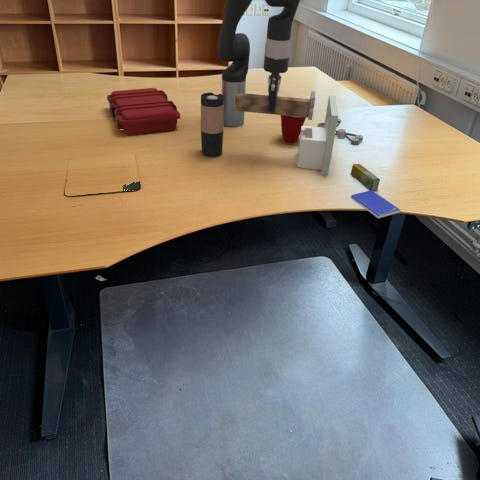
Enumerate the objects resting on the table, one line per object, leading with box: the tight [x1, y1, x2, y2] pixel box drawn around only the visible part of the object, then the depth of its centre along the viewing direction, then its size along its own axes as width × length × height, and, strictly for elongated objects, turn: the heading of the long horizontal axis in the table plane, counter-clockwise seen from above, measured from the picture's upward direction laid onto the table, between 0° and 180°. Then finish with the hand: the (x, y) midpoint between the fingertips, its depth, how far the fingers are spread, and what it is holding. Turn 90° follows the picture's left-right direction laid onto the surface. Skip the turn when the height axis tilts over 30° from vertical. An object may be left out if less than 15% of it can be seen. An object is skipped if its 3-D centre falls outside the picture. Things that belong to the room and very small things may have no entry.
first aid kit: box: [106, 87, 181, 135], centre depth 175 cm, size 32×23×9 cm
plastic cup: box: [280, 115, 307, 145], centre depth 162 cm, size 11×11×12 cm
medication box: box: [350, 163, 381, 192], centre depth 140 cm, size 12×3×4 cm, turn 21°
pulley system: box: [316, 118, 364, 145], centre depth 174 cm, size 27×5×15 cm
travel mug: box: [200, 91, 225, 158], centre depth 148 cm, size 8×8×20 cm
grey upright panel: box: [297, 94, 339, 176], centre depth 146 cm, size 10×20×20 cm, turn 173°
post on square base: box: [235, 90, 316, 121], centre depth 142 cm, size 25×7×7 cm, turn 83°
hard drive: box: [350, 190, 401, 219], centre depth 129 cm, size 2×8×12 cm
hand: (271, 109), depth 144 cm, fingers closed on post on square base, 3 cm apart
